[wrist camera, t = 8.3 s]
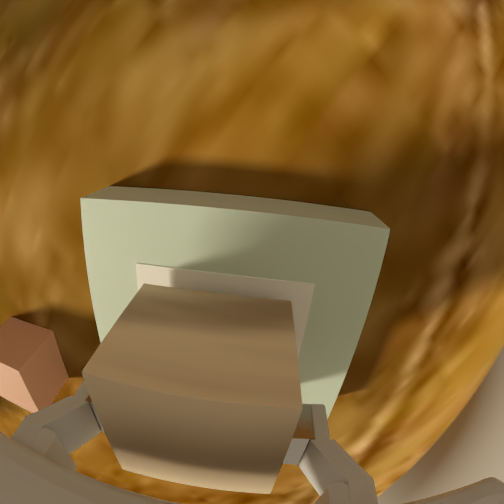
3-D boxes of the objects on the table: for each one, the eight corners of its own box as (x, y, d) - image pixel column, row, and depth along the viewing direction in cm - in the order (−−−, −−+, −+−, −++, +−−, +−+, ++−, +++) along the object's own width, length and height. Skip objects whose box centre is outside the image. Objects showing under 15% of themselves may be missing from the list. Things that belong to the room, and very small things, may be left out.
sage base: (108, 186, 13) (79, 198, 11) (371, 211, 13) (390, 229, 10) (130, 376, 18) (116, 403, 15) (317, 400, 17) (321, 432, 15)
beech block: (143, 283, 11) (81, 371, 6) (291, 300, 11) (302, 408, 6) (155, 384, 13) (122, 469, 8) (271, 400, 13) (270, 493, 8)
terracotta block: (11, 316, 17) (-24, 349, 13) (53, 330, 17) (18, 371, 13) (28, 361, 19) (0, 395, 15) (69, 376, 19) (42, 417, 15)
